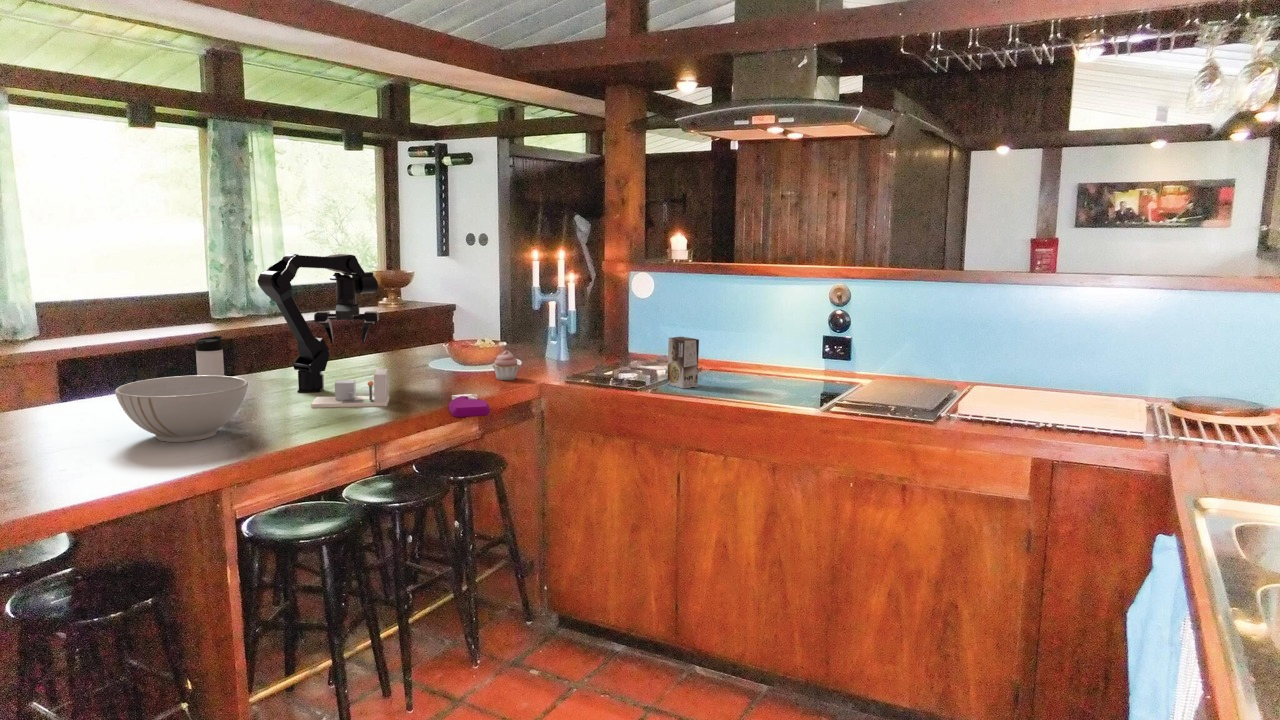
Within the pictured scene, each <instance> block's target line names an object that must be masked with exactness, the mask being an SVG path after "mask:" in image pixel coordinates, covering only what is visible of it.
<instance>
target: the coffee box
mask: <svg viewBox="0 0 1280 720" xmlns="http://www.w3.org/2000/svg"><path fill="white" fill-rule="evenodd" d="M667 342H668V345H667V346H668V349H667V354H668V355H667V360H668V361H667V385H668V384H669V386H671V387H672V386H673V387H675V386H676V388H680V389H683V388H684V389H692V388H691V387H695V388H698V383H699V382H698V381H699V380H698V378H699V377H698V375H699V352H700V351H699V350H700V349H699V347H700V339H699V338H694V337H693V338H692V337H689V336H688V337H687V336H675V337H668V341H667Z"/></svg>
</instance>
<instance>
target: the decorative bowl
mask: <svg viewBox="0 0 1280 720" xmlns="http://www.w3.org/2000/svg"><path fill="white" fill-rule="evenodd" d="M248 388H249V382H248V381H247V380H246V379H244V378H241V377H236V376H227V375H224V376H214V375H197V374H196V375H180V376H179V375H177V376H167V377H157V378H150V379H144V380H137V381H133V382H129V383H126V384H123V385H119V386H118V387H117V388H116V389H115V390H114V392H115V397H116V399H117V400H118V403H119V405H120V407H121V408H122V410H123V412H124V413H125V415H126V416H127V417H128V418H129V419H130V420H131V421H132V422H133V423H134V424H136V426H137V427H139V428H141V429H143V430H145V432H148V433H150V434H153V435H155V438H156V440H157V439H158V440H157V441H161V442H164V441H166V443H185V442H195V441H201V440H205V439H208V438H212V437H214V436H215V435H217V433H218V429H220V428H221V427H223V426H224V425H226V424H227V423H228V422H229V421H230V420H231V419H232V418H233V417H234V416H235V415H236V413H237V412H238V411H239V409H240V407H241V406H242V404H243V402H244V400H245V397H246V395H247V391H248Z"/></svg>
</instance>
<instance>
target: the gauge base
mask: <svg viewBox="0 0 1280 720" xmlns="http://www.w3.org/2000/svg"><path fill="white" fill-rule="evenodd" d="M388 373H389V369H388V368H376V370H375V372H374V374H373V383H374V384H373V390H374V391H373V393H374V394H373V395H372V400H369V395H356V397H355V399H354V400H335V396H316V397H315V398H314V400H313V401H312V402H311V403H310V408H311V409H315V408H316V409H317V408H352V407H354V408H357V407H362V408H363V407H387V406H388V405H389V401H390V395H389V375H388Z"/></svg>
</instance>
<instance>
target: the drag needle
mask: <svg viewBox="0 0 1280 720" xmlns="http://www.w3.org/2000/svg"><path fill="white" fill-rule="evenodd" d="M367 386H368V394H369V395H368V396H369V400H372V396H373V387H374V380H368V381H367Z"/></svg>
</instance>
